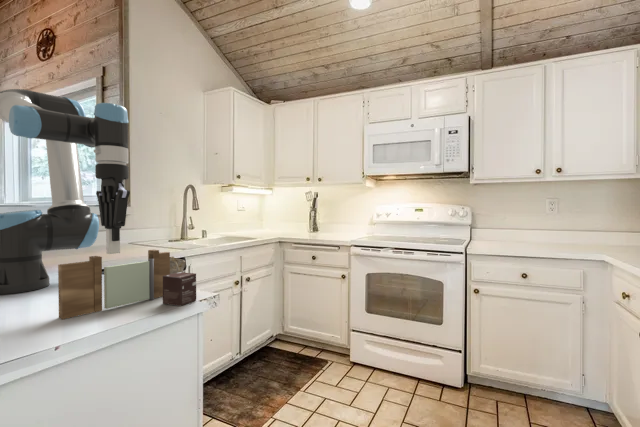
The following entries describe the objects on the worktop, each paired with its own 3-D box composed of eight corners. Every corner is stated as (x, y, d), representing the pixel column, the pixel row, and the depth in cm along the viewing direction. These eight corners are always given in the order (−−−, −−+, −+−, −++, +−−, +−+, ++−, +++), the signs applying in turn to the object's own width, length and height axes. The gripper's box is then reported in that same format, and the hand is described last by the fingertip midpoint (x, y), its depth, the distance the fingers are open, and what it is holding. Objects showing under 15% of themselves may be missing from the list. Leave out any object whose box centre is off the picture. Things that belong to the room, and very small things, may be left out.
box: (180, 306, 86) (180, 277, 86) (161, 304, 89) (161, 275, 88) (197, 300, 92) (196, 273, 92) (179, 298, 94) (179, 271, 94)
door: (152, 298, 93) (152, 258, 93) (154, 299, 92) (154, 258, 92) (104, 310, 83) (104, 264, 83) (106, 310, 82) (106, 265, 82)
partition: (58, 317, 77) (57, 260, 77) (165, 293, 99) (165, 248, 99) (63, 319, 76) (62, 261, 76) (170, 294, 98) (170, 249, 97)
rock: (144, 281, 108) (154, 250, 111) (140, 281, 113) (149, 251, 116) (183, 288, 115) (191, 259, 118) (177, 287, 120) (185, 259, 123)
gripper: (84, 164, 91) (86, 253, 92) (109, 160, 84) (110, 257, 84) (114, 167, 97) (115, 250, 98) (139, 163, 90) (140, 253, 91)
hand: (113, 253), depth 91 cm, fingers closed
